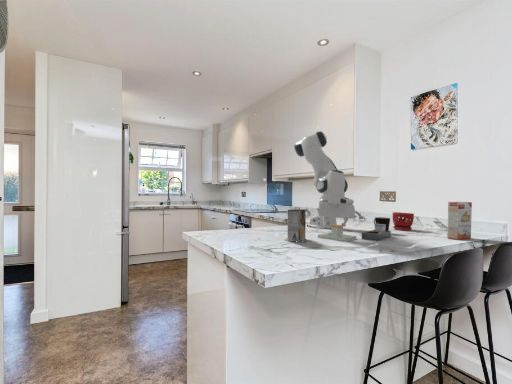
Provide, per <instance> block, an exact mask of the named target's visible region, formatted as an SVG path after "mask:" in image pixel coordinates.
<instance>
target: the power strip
mask: <svg viewBox="0 0 512 384" xmlns="http://www.w3.org/2000/svg"><path fill="white" fill-rule="evenodd" d="M391 237H392V231H391V230H389V231H388V230H386V231H385V232H379V231H375V229H371V230H366V231H362V232H361V240H367V241H375V242H378V241H379V242H380V241H382V240H384V239H388V238H391Z"/></svg>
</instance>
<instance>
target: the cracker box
mask: <svg viewBox="0 0 512 384" xmlns="http://www.w3.org/2000/svg"><path fill="white" fill-rule="evenodd" d="M472 207H473V203H472V202H471V201H448V203H447V232H446V233H447V237H446V238H447V239H449V240H456V241H457V240H467V239H469V240H470V239H471V238H472V214H473V213H472V212H473V211H472V210H473V209H472Z"/></svg>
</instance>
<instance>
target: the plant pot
mask: <svg viewBox="0 0 512 384" xmlns="http://www.w3.org/2000/svg"><path fill="white" fill-rule="evenodd" d="M414 218H415V214H414V213H412V212H399V211H397V212H396V211H395V212H394V211H393V212H392V223H393V226H392V228H394V230H397V231H411V230H412V229H413V227H412V225H413V224H414Z"/></svg>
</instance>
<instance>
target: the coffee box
mask: <svg viewBox="0 0 512 384" xmlns="http://www.w3.org/2000/svg"><path fill="white" fill-rule="evenodd" d="M306 212H307V211H306V209H303V208H302V209H301V208H293V209H287V241H288V242H290V241H297V242H296V243H301V242H303V241H304V240H306V227H307V224H306V222H307V221H306V216H307V215H306V214H307V213H306ZM300 241H301V242H300Z"/></svg>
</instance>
